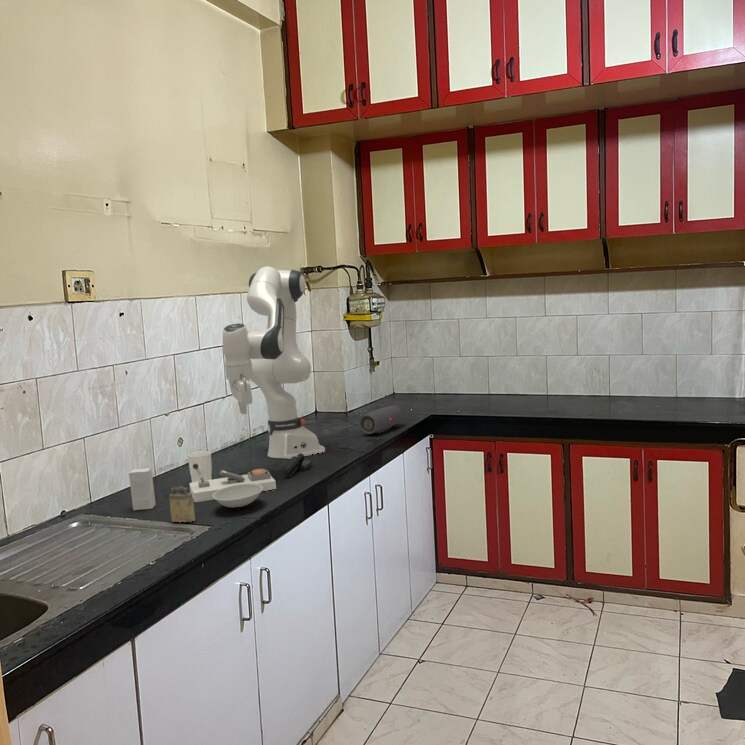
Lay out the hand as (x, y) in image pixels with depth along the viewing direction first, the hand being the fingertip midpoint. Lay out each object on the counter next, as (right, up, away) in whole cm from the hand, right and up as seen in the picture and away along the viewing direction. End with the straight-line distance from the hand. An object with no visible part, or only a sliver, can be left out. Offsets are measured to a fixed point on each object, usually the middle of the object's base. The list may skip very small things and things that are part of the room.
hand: (243, 413), depth 250 cm
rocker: (-2, -20, -8) cm, 22 cm away
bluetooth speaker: (+48, -12, +73) cm, 88 cm away
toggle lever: (-11, -22, -11) cm, 27 cm away
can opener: (+16, -22, +11) cm, 30 cm away
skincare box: (-27, -28, -20) cm, 44 cm away
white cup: (-16, -24, +7) cm, 30 cm away
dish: (+3, -27, -27) cm, 38 cm away
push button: (+6, -21, -5) cm, 22 cm away
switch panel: (-2, -25, -8) cm, 26 cm away
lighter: (-11, -29, -37) cm, 48 cm away
